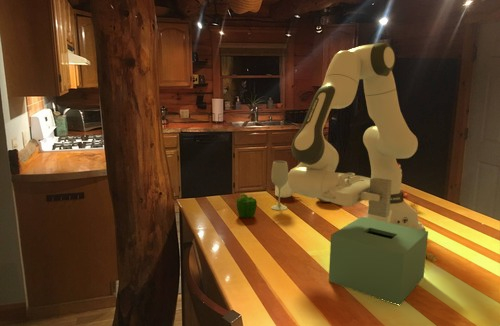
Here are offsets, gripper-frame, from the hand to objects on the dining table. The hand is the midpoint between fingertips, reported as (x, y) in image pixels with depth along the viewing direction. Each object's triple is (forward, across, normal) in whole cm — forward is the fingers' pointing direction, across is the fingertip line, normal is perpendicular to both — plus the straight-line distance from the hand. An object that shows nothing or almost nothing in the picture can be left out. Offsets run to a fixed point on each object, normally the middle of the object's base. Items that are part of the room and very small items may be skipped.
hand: (383, 196), depth 111 cm
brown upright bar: (-1, 0, +6) cm, 6 cm away
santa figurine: (-24, +80, +25) cm, 87 cm away
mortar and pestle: (-49, +59, +25) cm, 81 cm away
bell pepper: (-64, +18, +25) cm, 71 cm away
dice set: (+6, +25, +26) cm, 37 cm away
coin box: (0, 0, +25) cm, 25 cm away
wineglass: (-60, +37, +25) cm, 75 cm away
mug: (-69, +55, +25) cm, 92 cm away
